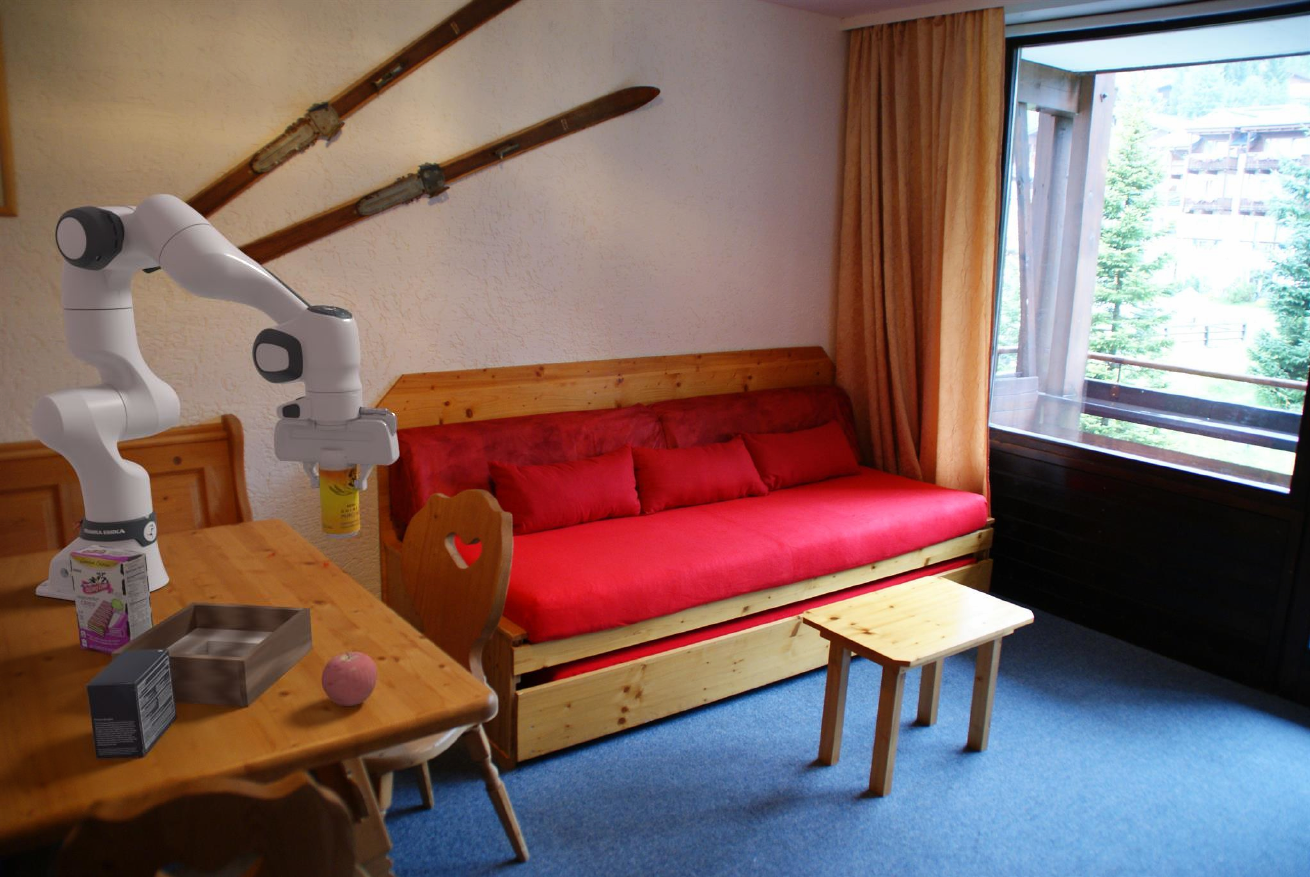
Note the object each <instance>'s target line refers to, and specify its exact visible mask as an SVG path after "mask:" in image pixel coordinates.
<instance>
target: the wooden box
mask: <svg viewBox="0 0 1310 877" xmlns="http://www.w3.org/2000/svg"><path fill="white" fill-rule="evenodd" d="M312 635H313V634H312V621H311V608H310V607H309V608H308V607H294V606H293V607H292V606H275V605H274V606H273V605H253V604H237V603H236V604H231V603H217V602H215V603H214V602H194V601H193V602H190V603H189V604H187V605H186V606H183V607H182V608H181V609H179V610H178V611H176V612H175V613H173V614H171V615H169V617H167V618H165V619H164V620H162V621H160V622H159V623H157V624H155V625H153V627H152V628H151V629H149V630H147V631H146V632H144V633H143V634H141V635H139V636H138V637H136V638H135V639H133V640H131V641H130V642H128V643H127V644H125V645H123V646H122V647H120V648H119V649H117V650H115V651H114V652H112V653H111V654H110V655H111V660H112V661H113V660H114V659H115V658H116V657H117V656H118V655H119V654H121V653H122V652H123V651H129V650H149V649H169V657H170V667H171V675H172V685H173V693H174V701H175V703H184V704H198V705H199V704H200V705H213V706H214V705H217V706H231V707H246V708H248V707H250V706H251V705H252V704H253V703H254V702H255V701H256V700H257V699H259V697H261V696H262V695H263V694H264V693H265V692H266V691H268V689H269V688H271V687H272V686H273V685H274V684H275V683H277V682H278V680H280V679H281V678H282V677H283V676H285V675H286V673H287V672H289V671H290V670H291V669H292V668H293V667H294V666H295V665H296V664H297V663H299V662H300V661H301V660H302V659H303V658H304V657H305V656H306V655H308V654H309V653H310V652H311V651H312V650H313V636H312ZM112 661H111V662H112Z"/></svg>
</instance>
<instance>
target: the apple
mask: <svg viewBox="0 0 1310 877" xmlns="http://www.w3.org/2000/svg"><path fill="white" fill-rule="evenodd" d="M377 671H378V669H377V665H376V663H375V661H374V659H372V657H371V656H369V655H367V654H366V653H364V652H363V653H362V652H360V651H349V652H347V651H345V652H344V653H339V654H338V655H335V656H334V657H332V658H331V659H329V661H328V662H327V663H326V664H325V666H324V668H323V670H322V673H321V686H322V689H323V691H324V692H325V694H326V695H327V697H328V698H329V699H330V700H331V701H333V702H334V703H335V704H337V705H340V706H343V707H352V706H356V705H360V704H362V703H364V702H365V701H367V699H368V698H369V697H370V696H371V694H372V693H373V692H374V689H375V687H376V685H377V681H378V672H377Z"/></svg>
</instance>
